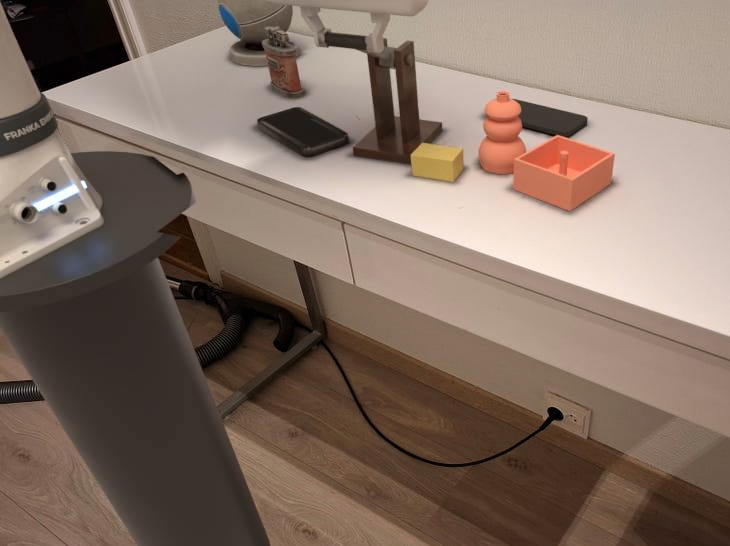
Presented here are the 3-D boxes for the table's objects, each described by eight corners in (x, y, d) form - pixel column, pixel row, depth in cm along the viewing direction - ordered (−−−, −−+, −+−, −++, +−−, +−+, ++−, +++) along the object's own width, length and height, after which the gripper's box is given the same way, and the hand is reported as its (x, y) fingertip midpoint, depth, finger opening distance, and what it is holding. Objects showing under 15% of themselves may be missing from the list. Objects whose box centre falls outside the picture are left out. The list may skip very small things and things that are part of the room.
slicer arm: (365, 53, 79) (367, 31, 79) (324, 48, 81) (325, 26, 80) (413, 71, 92) (415, 52, 92) (377, 67, 94) (378, 48, 93)
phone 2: (509, 97, 110) (590, 116, 103) (509, 102, 110) (590, 122, 104) (483, 112, 105) (566, 133, 99) (483, 117, 106) (566, 139, 99)
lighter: (266, 87, 117) (253, 25, 110) (284, 82, 118) (271, 20, 112) (290, 99, 112) (278, 36, 106) (308, 94, 114) (297, 31, 107)
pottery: (611, 183, 89) (620, 110, 83) (569, 211, 84) (576, 135, 77) (505, 146, 98) (506, 77, 91) (462, 169, 93) (460, 98, 86)
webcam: (312, 54, 129) (297, -34, 119) (252, 71, 123) (231, -21, 112) (277, 39, 136) (260, -46, 126) (219, 54, 130) (196, -34, 120)
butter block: (453, 182, 90) (452, 161, 88) (412, 175, 92) (410, 154, 90) (463, 169, 93) (463, 148, 91) (423, 163, 94) (422, 142, 92)
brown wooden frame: (411, 164, 94) (402, 62, 85) (353, 155, 96) (338, 55, 87) (442, 130, 102) (438, 34, 93) (389, 123, 105) (379, 28, 95)
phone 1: (304, 150, 95) (254, 119, 103) (306, 158, 96) (255, 126, 104) (351, 134, 99) (299, 105, 107) (352, 141, 99) (300, 112, 108)
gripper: (231, -88, 72) (261, 48, 81) (406, -78, 67) (416, 66, 76) (264, -97, 76) (288, 33, 86) (430, -89, 71) (437, 48, 80)
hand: (350, 48), depth 81 cm, fingers closed on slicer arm, 5 cm apart
